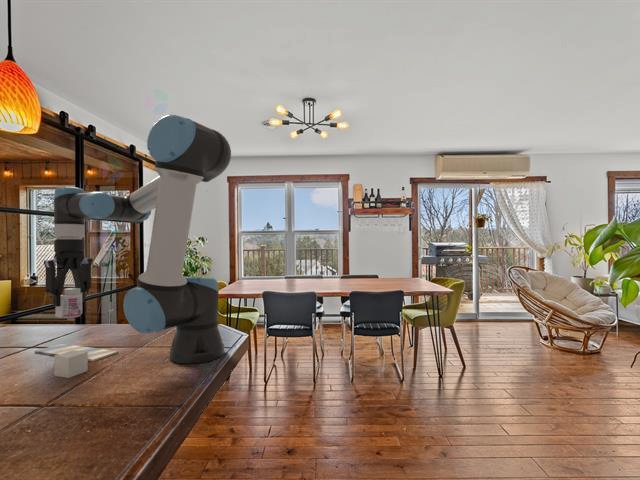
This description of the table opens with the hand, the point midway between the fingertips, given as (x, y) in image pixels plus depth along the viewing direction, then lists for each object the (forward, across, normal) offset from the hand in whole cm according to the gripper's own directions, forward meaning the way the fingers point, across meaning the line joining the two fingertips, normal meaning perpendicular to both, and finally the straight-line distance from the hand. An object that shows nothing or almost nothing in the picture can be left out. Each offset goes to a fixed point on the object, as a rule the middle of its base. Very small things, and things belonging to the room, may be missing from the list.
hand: (69, 315), depth 108 cm
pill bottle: (+1, 0, +1) cm, 1 cm away
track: (+11, 0, +3) cm, 12 cm away
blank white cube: (+11, +12, +18) cm, 24 cm away
